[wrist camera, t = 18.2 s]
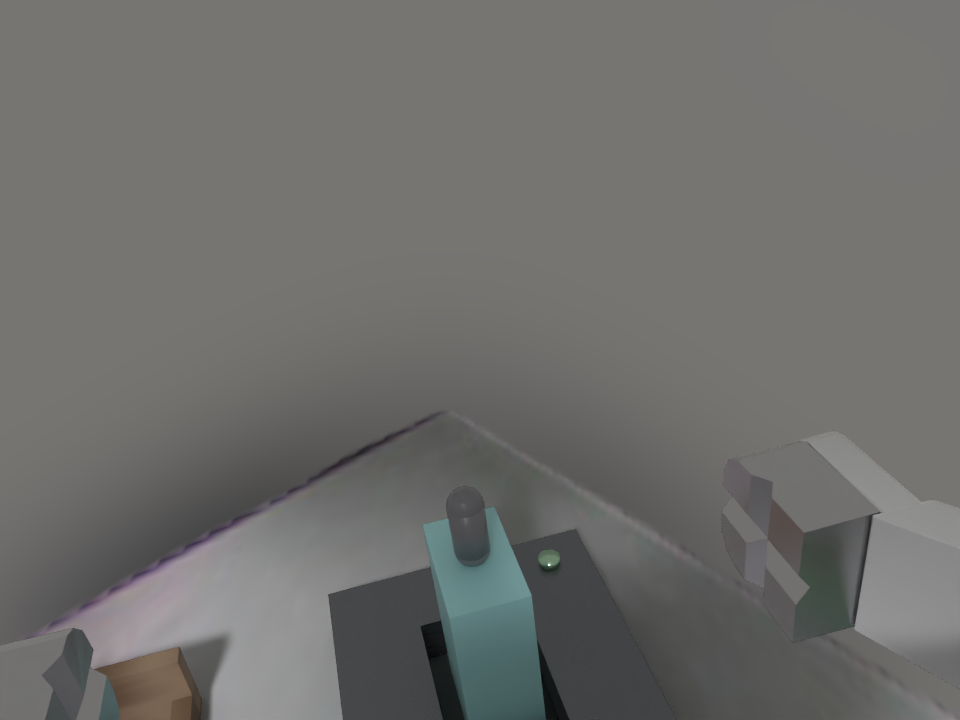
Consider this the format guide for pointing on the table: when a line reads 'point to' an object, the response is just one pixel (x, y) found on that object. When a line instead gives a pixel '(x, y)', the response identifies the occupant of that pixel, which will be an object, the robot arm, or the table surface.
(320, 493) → the table surface
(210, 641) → the table surface
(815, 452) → the robot arm
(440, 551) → the plug
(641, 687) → the port block
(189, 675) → the open wooden frame
